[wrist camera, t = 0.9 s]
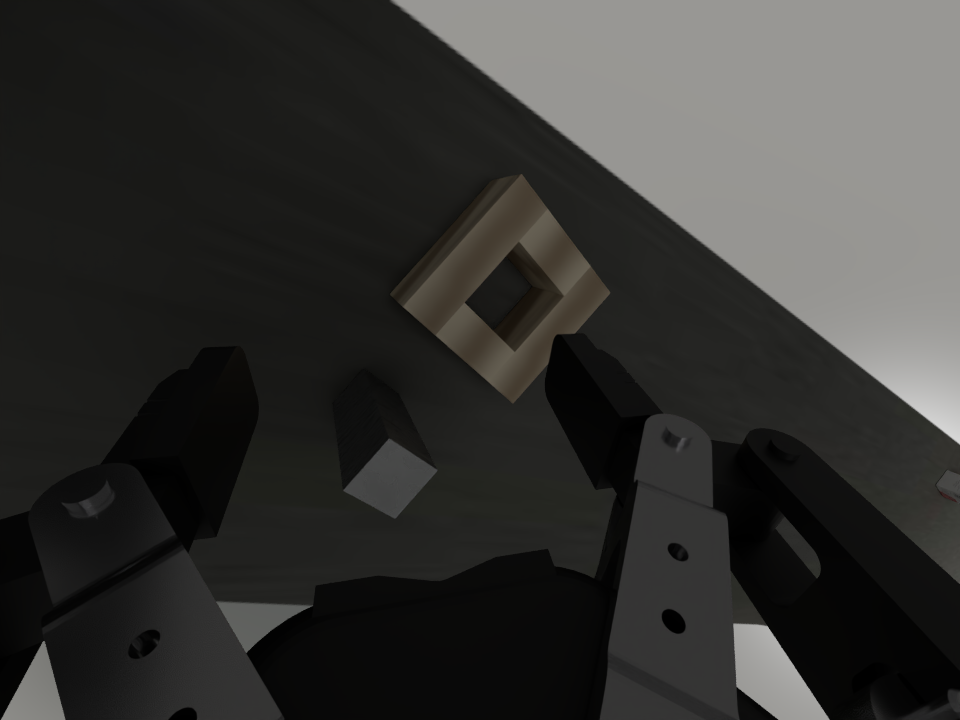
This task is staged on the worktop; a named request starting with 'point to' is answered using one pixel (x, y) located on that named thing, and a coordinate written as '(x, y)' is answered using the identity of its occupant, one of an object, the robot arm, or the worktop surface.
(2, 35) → the worktop surface
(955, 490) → the ink cartridge box
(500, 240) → the well block
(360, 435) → the grey square pillar
